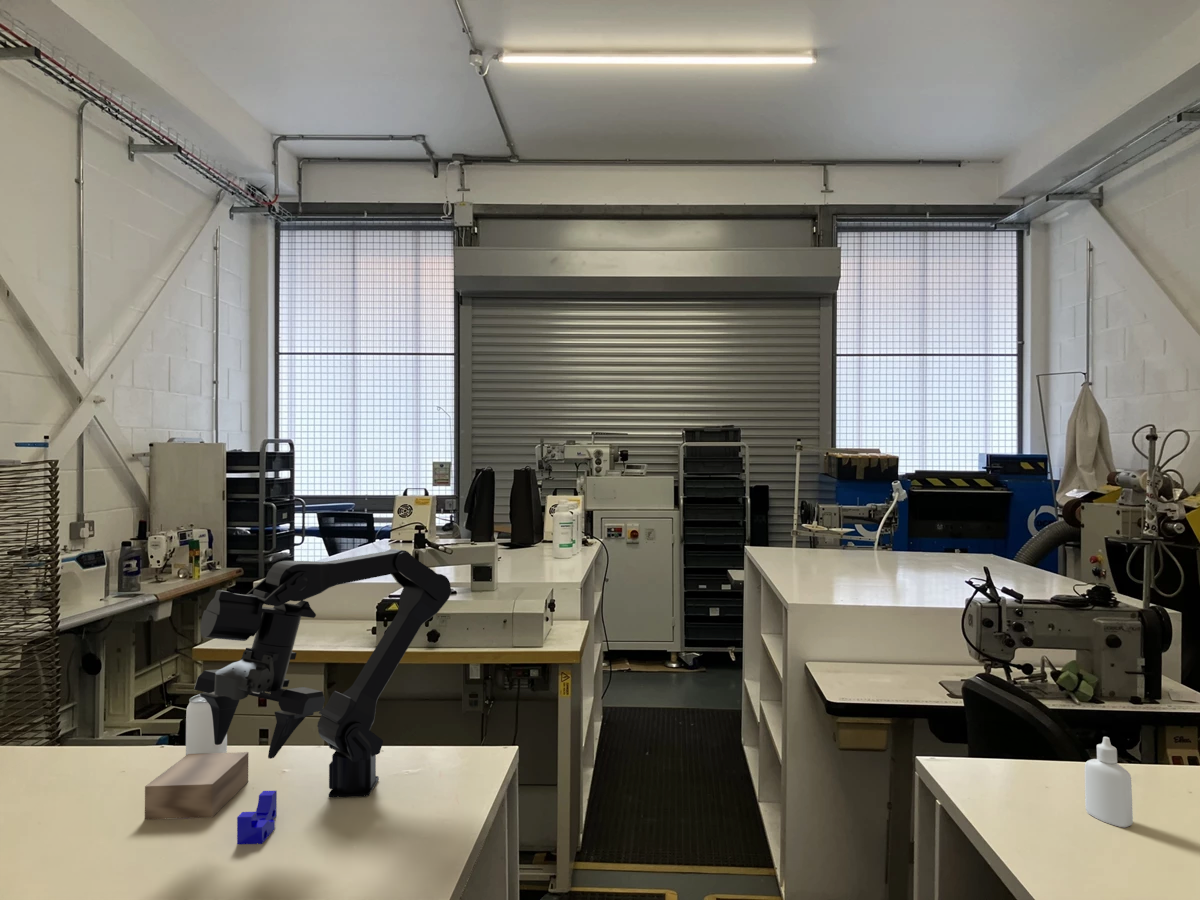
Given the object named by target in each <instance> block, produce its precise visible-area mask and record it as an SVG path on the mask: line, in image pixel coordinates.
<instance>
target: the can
mask: <svg viewBox="0 0 1200 900" xmlns="http://www.w3.org/2000/svg"><path fill="white" fill-rule="evenodd" d="M188 701H189V703H188V705H187V707H186V710H185V711H186V714H185V717H186V718H185V756H186V755H187V754H202V753H228V733H227V734H226V736H225V738H224V740H223V742H222V744H220V745H215V742H214V729H213V717H212V711H211V706H210V704H209V703H208V702H207V701H206V699H205V698H203V697H201V696H200V694H197V695H194V696H192V697H190V698H189V700H188Z"/></svg>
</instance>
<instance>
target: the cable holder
mask: <svg viewBox="0 0 1200 900" xmlns="http://www.w3.org/2000/svg"><path fill="white" fill-rule="evenodd" d="M277 795H278V793H277V790H263V791H262V792H261V793H259V795H258V802H257V807H256V810H255V811H242V812H241V813H239V814H238V815H237V817H236V820H237V821H236V827H237V828H236V832H237V833H236V845H262V844H264V842H265V841H266V840H267V839H268V838H269V836H270V835H272V833H273V832H274V831H275V829H276V827H275V826H276V825H275V824H276V820H275V818H276V817H277V812H278V811H277V809H278V807H277V805H278V803H277V799H278V798H277V797H278V796H277ZM273 830H274V831H273ZM267 837H268V838H267ZM257 843H258V844H257Z"/></svg>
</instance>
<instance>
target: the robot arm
mask: <svg viewBox="0 0 1200 900" xmlns="http://www.w3.org/2000/svg"><path fill="white" fill-rule="evenodd" d="M267 571H268V572H267V574H266V576H265V578H263V580H261V581H260V582H259V583H257V585H255V586H254V587H253V588H252V589H250V591H248V592H247V593H246V594H242V593H241V594H240V593H235V592H234V593H233V592H230V591H226V590H222V589H218V590H216V591H215V594H214V597H213V598H212V599H211V601H210V602H209V603H208V605H207V606H206V609H205V610H203V613H202V616H201V621H200V634H201V637H202V638H205V639H214V640H215V639H217V640H229V641H238V642H245V641H247V640H249V638H251V637H254V638H253V642H252V646H251V647H246V648H245V650H244V651H243V653H242V656H241V658H240V659H239V660H238V661H233V662H231V663H229V664H227V665H226V666H224V667H222V668H220V669H208V670H207V669H206V670H203V671H202V672H201V673H200V674H199V675H198V677H197V678H196V681H195V685H194V688H193V690H195V691H199V692H200V693H199V695H200V696H201V697H203V698H205V699H206V701H207V702H208V703H209V704H210V706H211V711H212V717H213V729H214V742H215V745H220V744H222V742H223V740H224V738H225V736H226V734H227V735H228V731H229V729H230V726H231V724H232V721H233V718H234V716H235V712H236V711H237V708H238V706H239V702H240V700H244V699H246V698H248V696H252V697H257V698H261V699H265V700H269V701H274V702H277V703H278V706H279V709H280V710H278V711H277V710H276V711H274V716H275V720H276V723H275V726H274V731H273V734H272V737H271V742H270V745H269V750H268V756H267V758H268V759H274V758H275V757H276V756H277V754H278V753H280V750H281V749H282V747H284V745H285V744H286V742H287V740H289V738H290V737H291V735H292V734H293V733H294V731H295V730H296V729H297V728H298V726H300V724H301V723H302V722H303V720H305V719H306V717H309V716H313V715H314V713H318V714H319V715H320V717H319V719H318V721H317V725H316V727H317V731H318V735H319V737H320V738H321V739H322V740H323V741H325V742H326V743H327V745H328V747H329V749H331V750H334V753H333V754H332V755H331V758H332V761H331V762H330V763H329V764H328V788H329V790H330V791H329V793H328V798H331V799H332V798H355V797H363V798H364V797H368V796H370V795H371V793H372V792H373V789H374V788H375V786H376V785H377V783H378V781H379V778H380V777H379V776H378V775H377V772H376V771H377V770H376V769H377V767H376V766H377V765H376V764H377V761H376V759H377V757H376V755H377V756H378V755H380V753H381V750H382V747H383V743H384V740H383V739H382V738H381V737H379V736H378V735H377V734H375V733H374V732H373V731H372V730H371V729H372V726H373V724H374V722H375V720H376V719H375V717H376V710H377V702H378V701H379V700H378V699H379V697H380V696H381V694H382V692H383V691H384V689H385V687H386V686H387V684H388V682H389V681H390V679H391V678H392V676H393V674H394V672H395V670H396V669H397V667H398V665H399V664H400V662H401V661H402V660H403V657H404V656H405V654H406V653H407V650H408V649H409V647H410V646H411V644H412V642H413V641H414V639H415V637H416V635H417V634H418V632H419V630H420V629H421V627H422V625H424V623H426V622H427V621H428V620H430V619H431V618H433V617H434V616H435V615H437V614H438V613H439V612H440V610H441V609H442V608H443V607H444V606H445V604H446V603H447V602H448V601H449V599H450V597H451V594H452V591H453V590H452V588H451V587H452V585H451V583H450V580H449V578H448V577H447V576H446V575H444V574H440V573H437V572H436V571H434V570H433V569H432V568H430V566H429V567H428V566H427V565H426V564H424V563H423V562H421V561H419V560H418V559H417V558H416V557H414V556H413V554H412V553H410V552H409V551H408V550H403V549H396V548H390V549H388V550H385V551H381V552H379V551H378V552H375V553H369V554H363V555H362V554H361V555H358V556H351V557H345V558H340V559H334V560H329V561H315V560H314V561H313V560H312V561H311V560H310V561H309V560H282V561H281V560H280V561H278V562H275V563H274V564H273V565H272V566H271V568H270V569H269V570H267ZM388 575H391V576H392V578H393V579H394V581H395V582H396V583H397V584H398V585H400V586H401V587H402V590H401V592H400V594H399V601H398V602H399V603H398V610H397V613H396V615H395V616H394V618H393V619H392V621H391V622H390V624H389V625H388V627H387V629H386V630H385V633H384V634H383V636H382V637H381V639H380V640H379V641H378V643H377V644H376V647H375V648H374V650H373V651H372V653H371V655H370V656H369V658H368V660H366V663H365V664H364V665H363V668H362V669H361V671H360V672H359V674H358V676H357V678H356V679H355V680H354V682H353V683H352V685H351V686H350V687H349V688H347V690H345V691H343V692H342V693H340V692H338V691H336V690H334V691H333V692H332V694H331V695H330V696H329V699H328V702H326V704H325V701H326V698H325V694H324V692H323V690H318V689H315V688H310V687H304V686H301V687H300V686H299V687H295V688H293V687H292V688H287V687H289V684H290V679H287V678H286V676H287V672H288V669H289V663H290V661H291V660H296V659H297V658H296V657H297V652H294V651H293V650H294V646H295V643H296V642H295V641H296V639H297V638H296V637H297V634H298V631H299V627H300V622H301V619H302V618H312V619H314V618H315V617H316V616H317V614H316V612H315V611H314V610H313V609H312V607H311V605H310V602H309V601H307V599H310V598H312V597H314V596H317V595H320V594H322V593H323V592H325V591H326V590H328V589H331V588H333V587H334V586H335V587H336V586H339V585H344V584H348V583H352V582H353V583H354V582H359V581H364V580H368V579H373V578H378V577H385V576H388ZM290 601H292V602H297V603H288V602H290ZM264 605H265V606H264ZM266 606H267V607H266ZM268 606H272V607H268ZM284 688H285V689H284ZM324 705H325V706H324Z"/></svg>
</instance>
